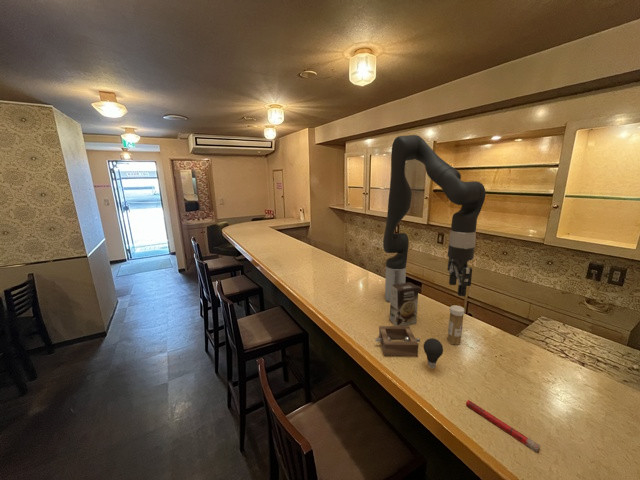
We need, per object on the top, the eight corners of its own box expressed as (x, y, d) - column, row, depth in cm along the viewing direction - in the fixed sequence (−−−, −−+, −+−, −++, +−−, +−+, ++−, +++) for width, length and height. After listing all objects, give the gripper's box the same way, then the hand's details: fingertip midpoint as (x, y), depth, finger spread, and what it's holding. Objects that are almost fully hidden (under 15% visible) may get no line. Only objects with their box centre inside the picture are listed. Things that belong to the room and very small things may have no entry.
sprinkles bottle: (460, 346, 91) (464, 312, 87) (446, 343, 93) (449, 309, 90) (461, 339, 95) (464, 306, 91) (447, 336, 97) (450, 303, 93)
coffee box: (397, 327, 103) (399, 290, 99) (389, 319, 109) (390, 284, 105) (417, 323, 105) (419, 287, 101) (407, 315, 111) (409, 281, 108)
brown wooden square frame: (379, 336, 98) (379, 325, 97) (408, 336, 97) (409, 326, 96) (384, 356, 87) (384, 344, 86) (417, 356, 86) (418, 344, 85)
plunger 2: (403, 340, 93) (403, 335, 92) (418, 340, 92) (418, 335, 92) (404, 345, 90) (405, 339, 90) (420, 345, 90) (420, 339, 90)
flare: (536, 454, 56) (538, 448, 56) (465, 407, 68) (466, 401, 67) (539, 449, 57) (540, 443, 57) (468, 403, 69) (469, 398, 68)
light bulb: (425, 358, 85) (427, 332, 83) (443, 366, 82) (446, 338, 79) (419, 368, 81) (421, 340, 79) (438, 376, 78) (441, 348, 75)
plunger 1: (375, 340, 93) (375, 334, 93) (390, 340, 93) (390, 334, 93) (376, 344, 91) (376, 338, 91) (391, 344, 91) (391, 339, 90)
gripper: (442, 238, 91) (438, 281, 95) (457, 250, 78) (452, 299, 82) (465, 238, 90) (460, 281, 94) (484, 250, 77) (477, 300, 81)
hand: (456, 289), depth 88 cm, fingers open, 8 cm apart
